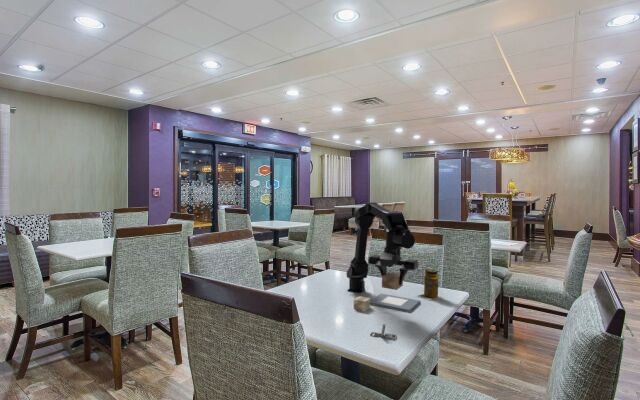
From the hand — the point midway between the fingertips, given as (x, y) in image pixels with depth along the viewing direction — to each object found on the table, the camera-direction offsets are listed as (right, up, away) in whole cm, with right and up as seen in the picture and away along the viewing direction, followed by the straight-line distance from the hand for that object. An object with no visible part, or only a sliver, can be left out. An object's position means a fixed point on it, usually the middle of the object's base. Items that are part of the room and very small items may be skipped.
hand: (392, 283), depth 137 cm
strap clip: (-7, -13, -21) cm, 26 cm away
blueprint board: (+3, -11, +12) cm, 17 cm away
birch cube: (-11, -12, +6) cm, 17 cm away
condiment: (+21, -12, +22) cm, 33 cm away
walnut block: (0, -1, 0) cm, 1 cm away
